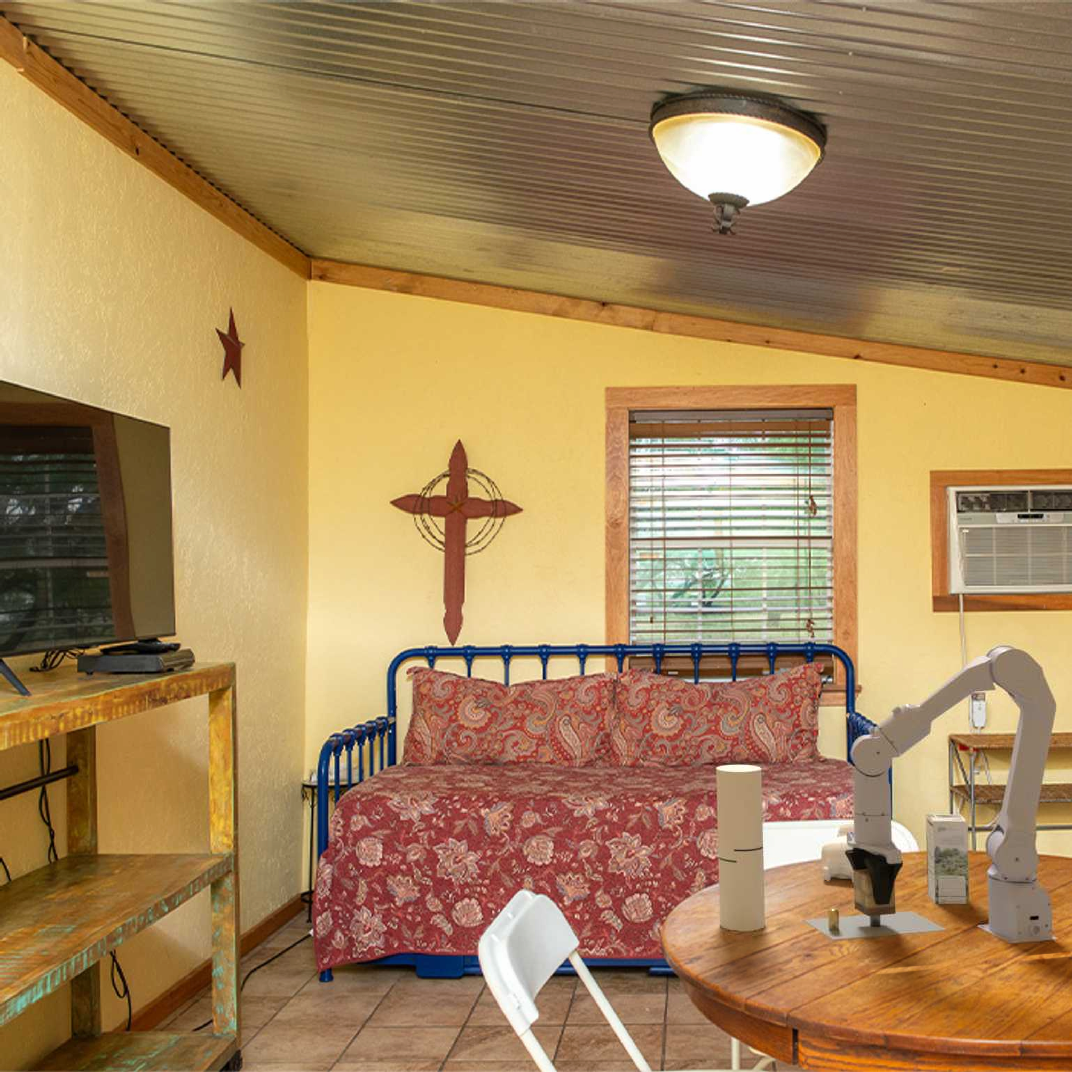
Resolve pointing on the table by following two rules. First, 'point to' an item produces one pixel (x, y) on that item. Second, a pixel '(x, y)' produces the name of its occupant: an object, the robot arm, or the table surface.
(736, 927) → the cylindrical container
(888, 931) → the board
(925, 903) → the table surface
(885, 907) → the sleeve
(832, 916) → the brass pin
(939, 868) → the syrup box
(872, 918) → the steel pin
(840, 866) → the white animal figurine
